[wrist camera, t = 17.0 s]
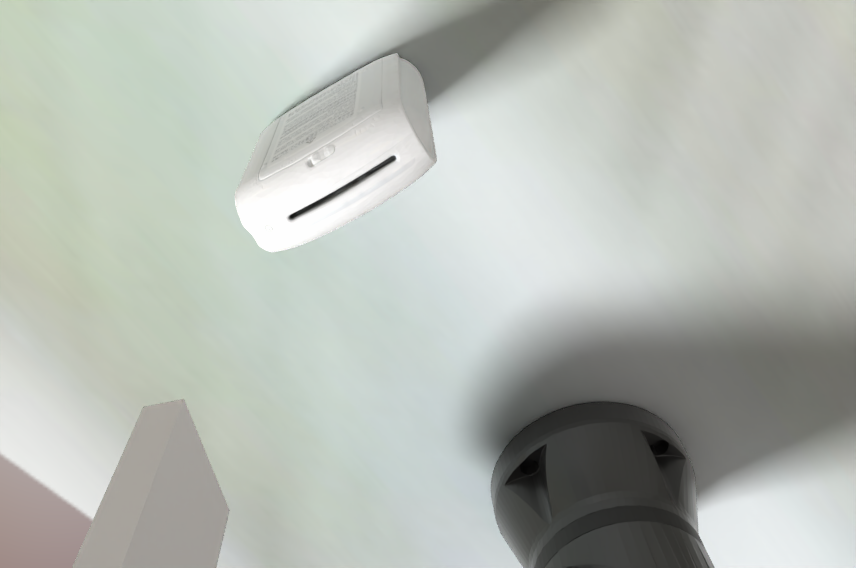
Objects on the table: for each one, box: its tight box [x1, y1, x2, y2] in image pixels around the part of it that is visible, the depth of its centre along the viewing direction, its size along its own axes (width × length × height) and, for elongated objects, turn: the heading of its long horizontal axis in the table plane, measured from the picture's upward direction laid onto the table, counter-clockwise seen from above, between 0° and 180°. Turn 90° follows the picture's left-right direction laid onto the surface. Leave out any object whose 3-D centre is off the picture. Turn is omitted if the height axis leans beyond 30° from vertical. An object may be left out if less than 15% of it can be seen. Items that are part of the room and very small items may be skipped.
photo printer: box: [235, 53, 437, 252], centre depth 41 cm, size 10×4×12 cm, turn 119°
